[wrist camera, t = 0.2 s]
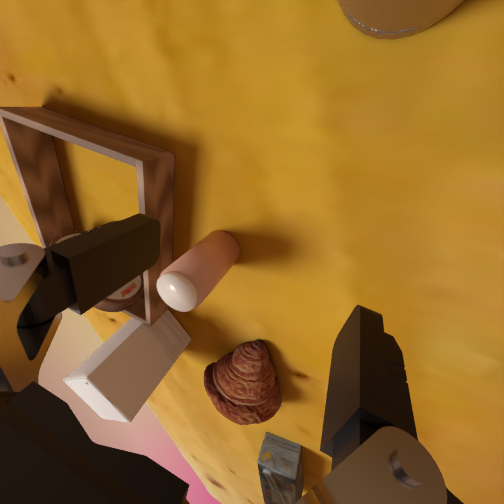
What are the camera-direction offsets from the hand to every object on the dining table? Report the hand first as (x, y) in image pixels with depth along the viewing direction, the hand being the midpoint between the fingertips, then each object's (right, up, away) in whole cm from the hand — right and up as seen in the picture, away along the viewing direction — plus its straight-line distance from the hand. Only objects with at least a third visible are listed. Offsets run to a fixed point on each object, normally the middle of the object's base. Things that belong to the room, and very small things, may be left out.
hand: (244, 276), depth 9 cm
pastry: (0, -21, +35) cm, 40 cm away
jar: (-4, +1, +23) cm, 23 cm away
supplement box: (-16, -13, +37) cm, 42 cm away
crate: (-20, +6, +28) cm, 35 cm away
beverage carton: (+8, -44, +45) cm, 64 cm away
